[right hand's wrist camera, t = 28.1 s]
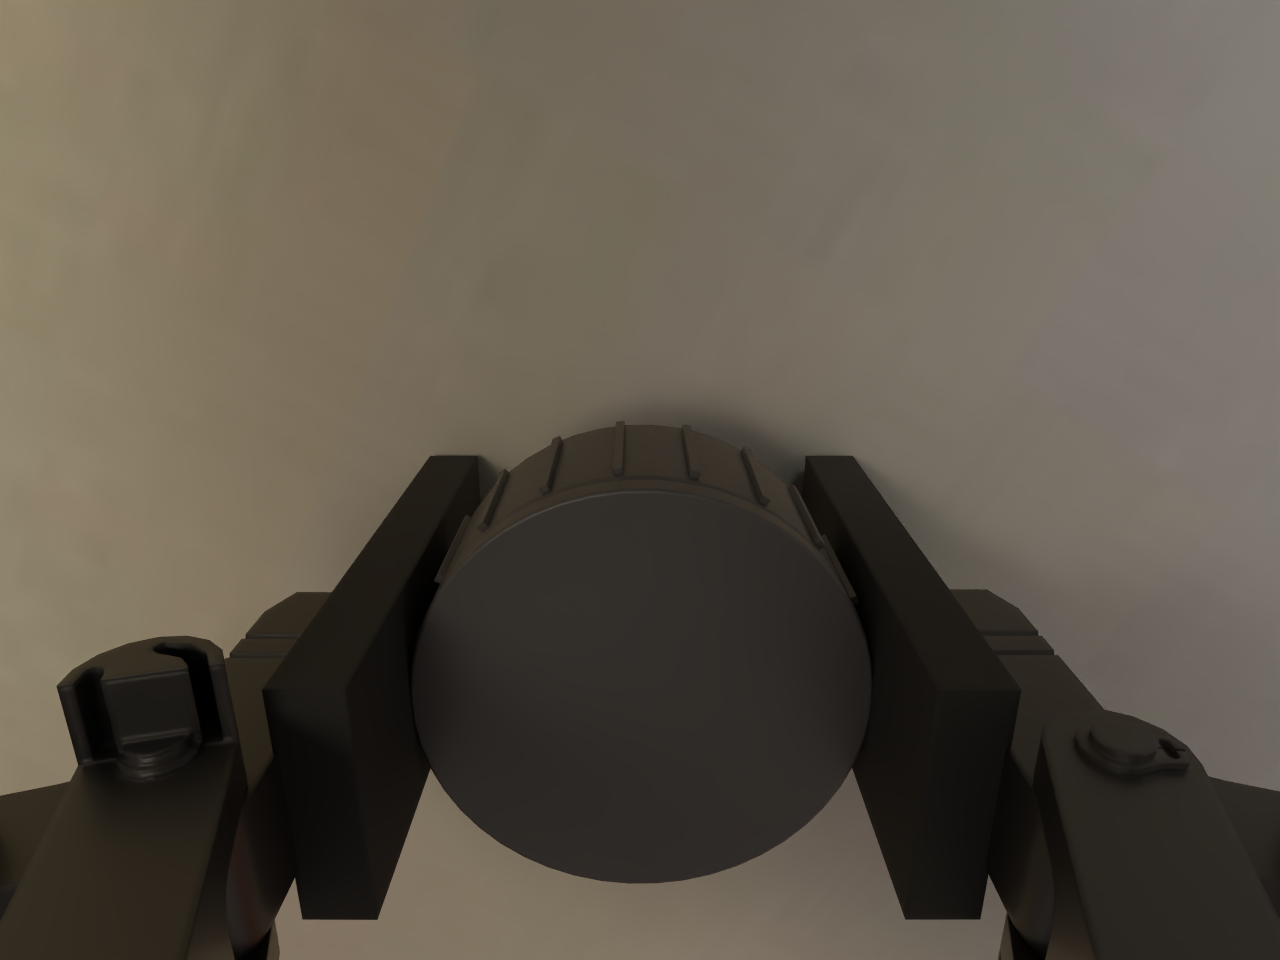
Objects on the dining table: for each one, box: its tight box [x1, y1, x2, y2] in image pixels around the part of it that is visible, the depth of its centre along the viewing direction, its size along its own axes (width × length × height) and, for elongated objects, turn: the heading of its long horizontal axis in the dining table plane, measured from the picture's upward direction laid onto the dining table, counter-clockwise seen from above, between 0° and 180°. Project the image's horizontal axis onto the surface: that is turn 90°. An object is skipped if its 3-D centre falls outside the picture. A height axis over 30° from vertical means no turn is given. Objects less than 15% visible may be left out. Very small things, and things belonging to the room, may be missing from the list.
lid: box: [410, 421, 873, 883], centre depth 11 cm, size 5×5×2 cm
